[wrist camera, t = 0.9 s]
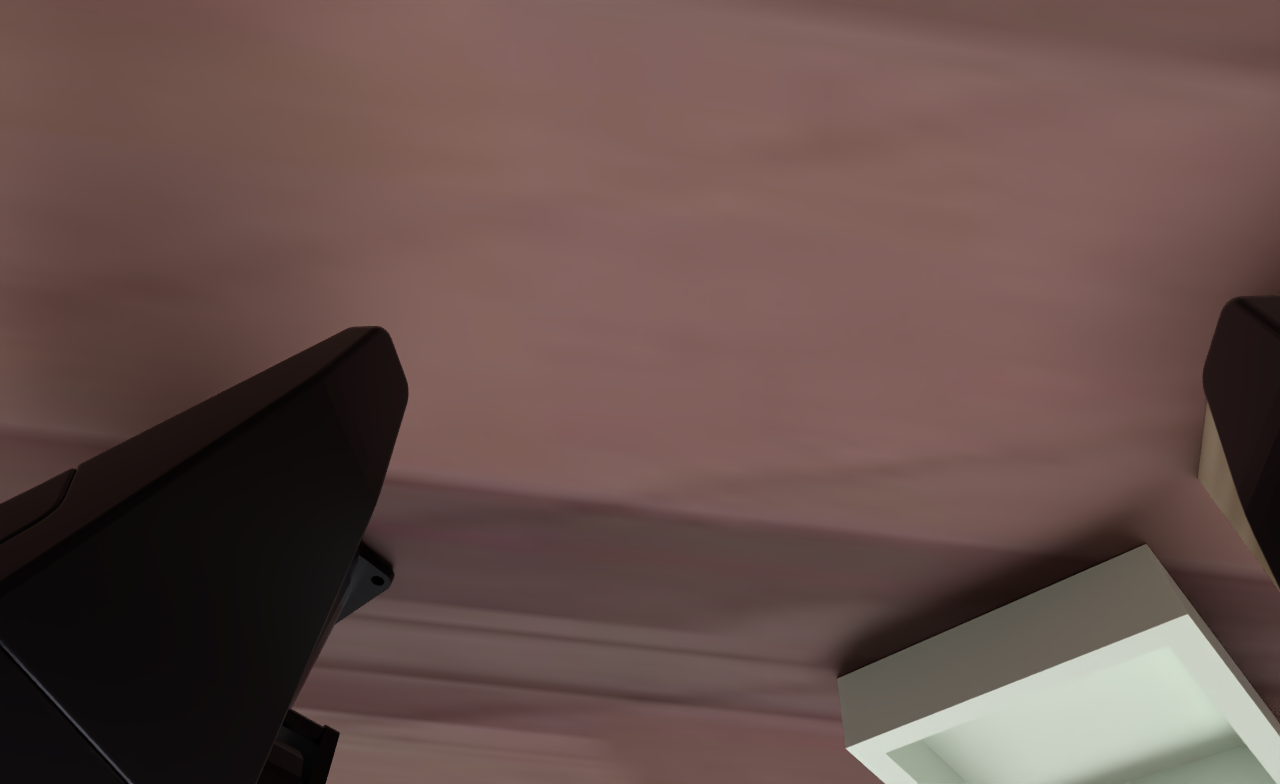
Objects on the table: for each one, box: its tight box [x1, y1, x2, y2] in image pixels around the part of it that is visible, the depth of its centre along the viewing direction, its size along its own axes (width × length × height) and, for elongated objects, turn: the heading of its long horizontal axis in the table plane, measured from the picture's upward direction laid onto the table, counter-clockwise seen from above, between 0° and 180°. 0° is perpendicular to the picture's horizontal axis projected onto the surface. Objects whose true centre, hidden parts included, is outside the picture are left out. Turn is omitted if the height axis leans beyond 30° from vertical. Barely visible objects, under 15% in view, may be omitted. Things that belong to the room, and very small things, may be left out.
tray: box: [837, 544, 1280, 784], centre depth 31 cm, size 12×12×3 cm
